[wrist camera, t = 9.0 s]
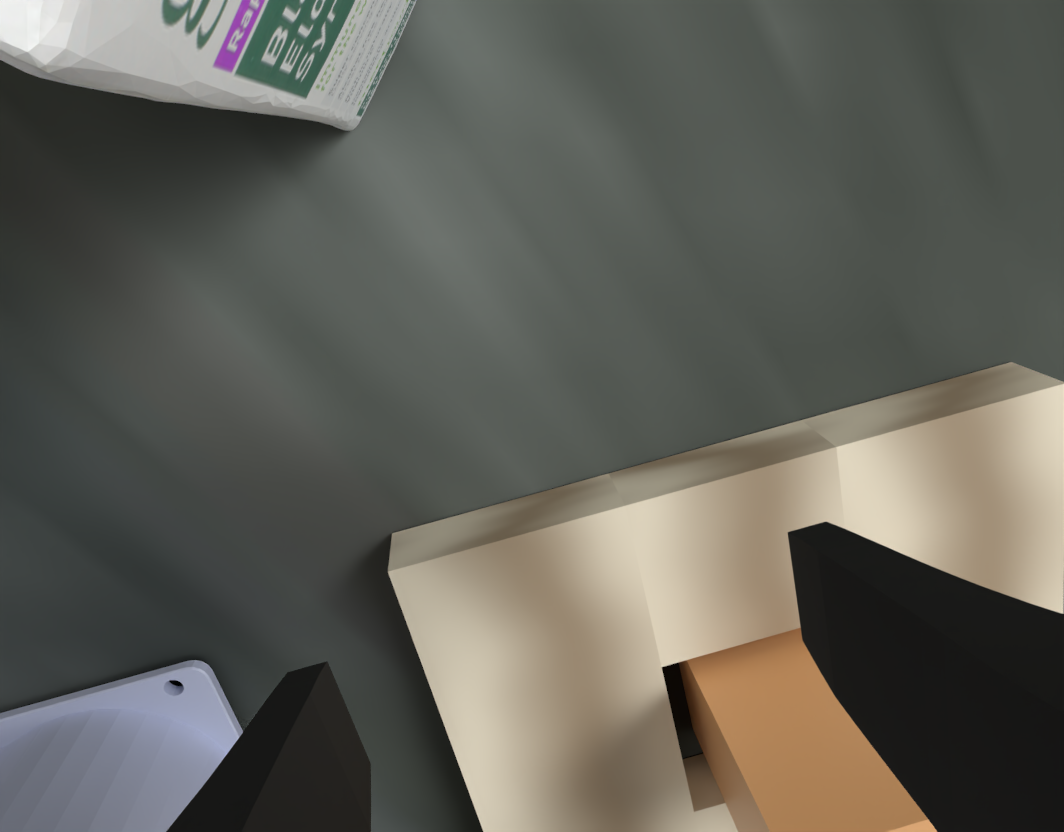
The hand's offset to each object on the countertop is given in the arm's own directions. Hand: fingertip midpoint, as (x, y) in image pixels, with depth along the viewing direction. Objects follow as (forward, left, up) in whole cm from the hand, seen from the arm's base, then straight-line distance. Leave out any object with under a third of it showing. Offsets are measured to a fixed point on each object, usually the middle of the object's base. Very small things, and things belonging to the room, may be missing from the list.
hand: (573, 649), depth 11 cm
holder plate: (+5, -10, -9) cm, 15 cm away
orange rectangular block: (+5, -10, -9) cm, 14 cm away
